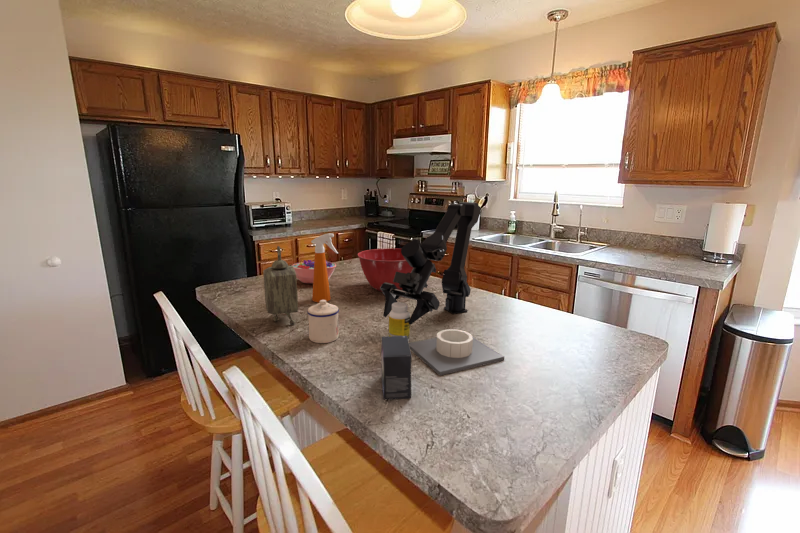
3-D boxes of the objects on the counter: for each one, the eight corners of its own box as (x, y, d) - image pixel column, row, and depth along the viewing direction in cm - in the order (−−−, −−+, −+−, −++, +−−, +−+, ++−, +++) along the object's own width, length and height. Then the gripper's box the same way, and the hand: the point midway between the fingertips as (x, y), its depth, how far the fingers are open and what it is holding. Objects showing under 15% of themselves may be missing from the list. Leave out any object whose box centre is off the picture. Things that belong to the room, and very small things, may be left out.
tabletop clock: (299, 326, 122) (295, 249, 117) (269, 330, 119) (263, 251, 113) (293, 311, 135) (289, 242, 130) (266, 314, 132) (261, 243, 126)
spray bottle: (336, 304, 144) (334, 234, 138) (309, 302, 146) (306, 233, 140) (342, 298, 151) (340, 232, 145) (316, 296, 153) (313, 231, 147)
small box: (380, 375, 93) (380, 335, 90) (407, 374, 93) (407, 334, 91) (382, 400, 83) (382, 355, 80) (412, 399, 83) (413, 354, 81)
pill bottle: (407, 345, 110) (408, 308, 107) (386, 343, 111) (386, 307, 108) (411, 336, 116) (412, 302, 113) (391, 334, 117) (391, 300, 114)
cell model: (294, 278, 180) (293, 254, 177) (337, 277, 182) (337, 254, 180) (288, 288, 164) (287, 262, 161) (335, 287, 166) (335, 261, 163)
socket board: (464, 335, 117) (465, 319, 116) (504, 359, 102) (505, 342, 100) (406, 346, 109) (407, 330, 108) (439, 375, 93) (440, 356, 92)
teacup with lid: (344, 339, 113) (343, 302, 110) (314, 346, 108) (313, 307, 105) (328, 326, 123) (327, 291, 120) (301, 332, 118) (299, 296, 115)
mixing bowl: (350, 283, 173) (349, 249, 169) (407, 277, 184) (408, 245, 180) (370, 301, 147) (370, 262, 144) (435, 294, 158) (436, 257, 155)
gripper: (383, 256, 116) (359, 299, 110) (435, 265, 105) (411, 314, 99) (399, 276, 124) (377, 317, 118) (449, 287, 113) (427, 333, 107)
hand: (396, 320), depth 111 cm, fingers open, 9 cm apart
